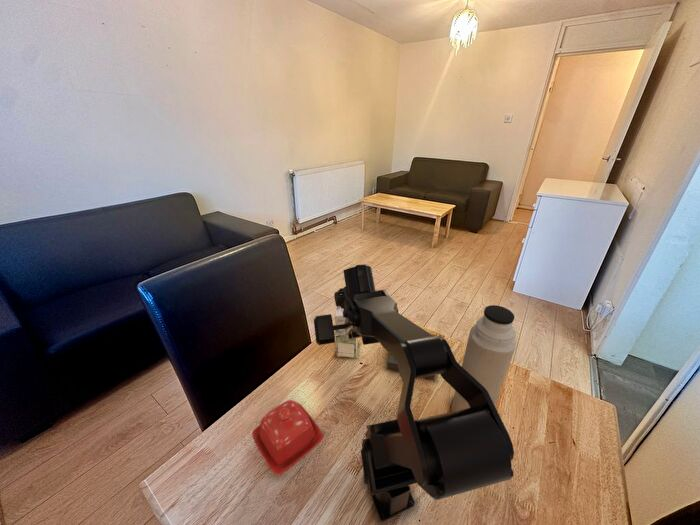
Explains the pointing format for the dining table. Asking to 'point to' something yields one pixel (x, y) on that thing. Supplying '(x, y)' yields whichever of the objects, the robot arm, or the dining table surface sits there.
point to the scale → (393, 366)
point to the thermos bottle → (489, 352)
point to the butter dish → (286, 436)
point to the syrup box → (344, 338)
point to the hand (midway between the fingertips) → (350, 328)
